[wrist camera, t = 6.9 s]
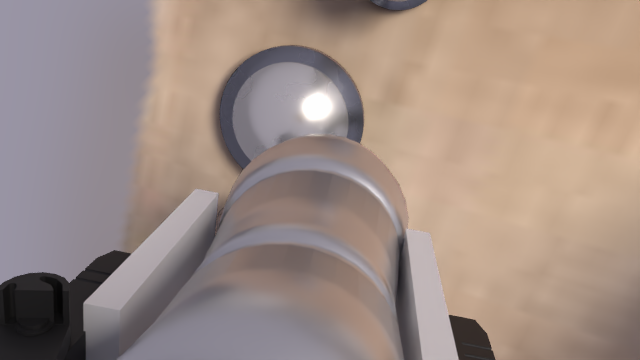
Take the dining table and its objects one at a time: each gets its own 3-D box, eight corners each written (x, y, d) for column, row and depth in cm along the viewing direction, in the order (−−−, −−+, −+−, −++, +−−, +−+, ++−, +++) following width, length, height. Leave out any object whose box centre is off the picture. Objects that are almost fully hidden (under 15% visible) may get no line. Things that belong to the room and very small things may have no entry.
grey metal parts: (230, 34, 34) (183, 41, 26) (376, 57, 33) (372, 72, 25) (208, 301, 41) (167, 368, 33) (328, 325, 40) (313, 399, 33)
